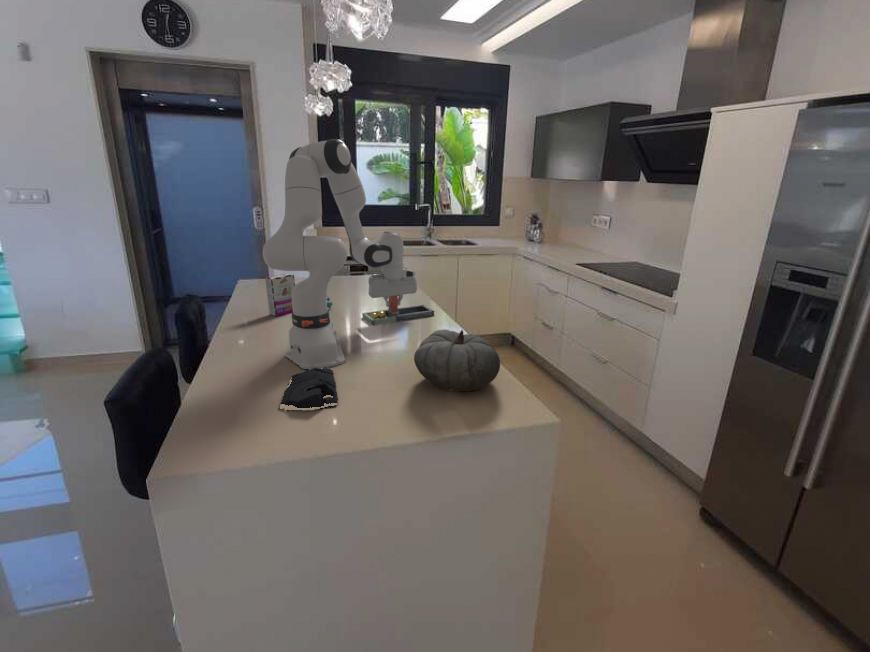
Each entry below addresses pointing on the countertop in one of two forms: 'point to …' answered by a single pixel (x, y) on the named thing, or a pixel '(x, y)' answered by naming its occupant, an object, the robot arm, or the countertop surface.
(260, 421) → the countertop surface
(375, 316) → the shiny gold ball
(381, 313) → the yellow-brown round piece
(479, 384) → the gourd
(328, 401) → the dark slate chunk
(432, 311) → the tray
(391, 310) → the red-brown bar
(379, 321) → the tray
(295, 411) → the countertop surface
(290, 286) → the candy bar box
